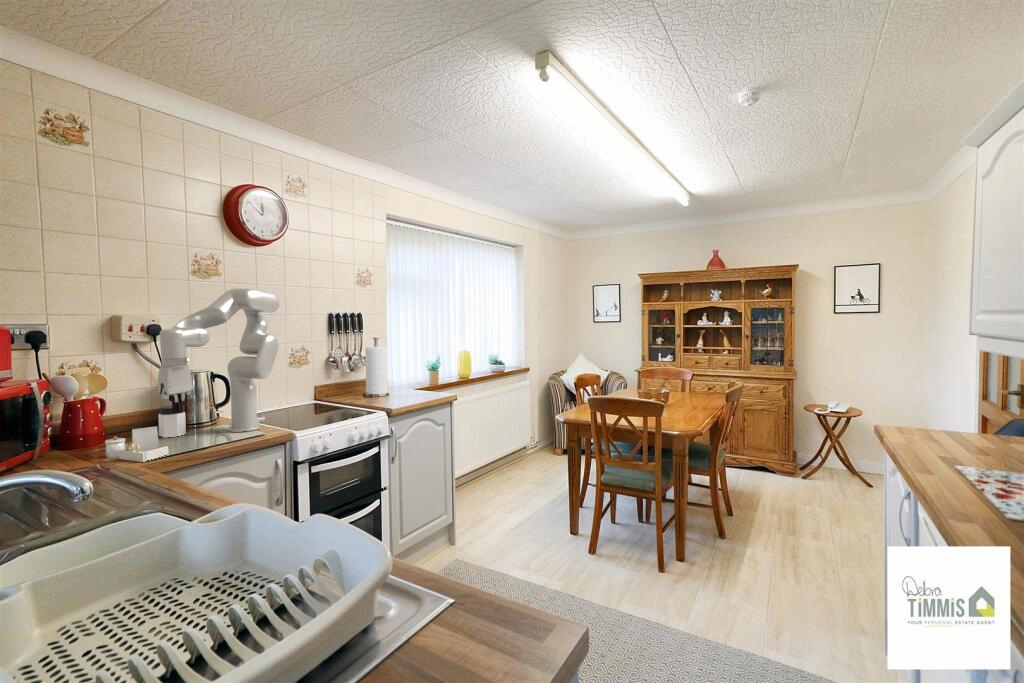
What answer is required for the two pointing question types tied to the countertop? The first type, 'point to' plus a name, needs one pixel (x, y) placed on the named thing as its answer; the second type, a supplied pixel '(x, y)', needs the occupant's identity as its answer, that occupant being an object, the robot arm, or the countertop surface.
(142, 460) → the header block
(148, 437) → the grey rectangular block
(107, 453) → the sugar pot
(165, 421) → the jar
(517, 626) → the countertop surface
